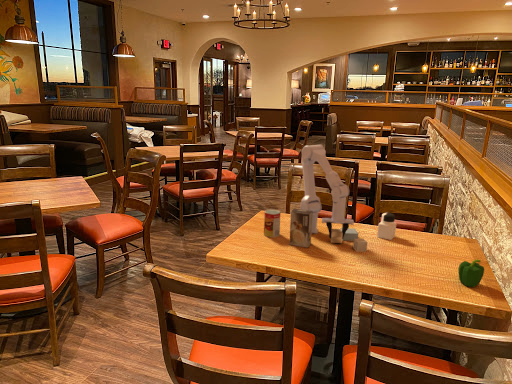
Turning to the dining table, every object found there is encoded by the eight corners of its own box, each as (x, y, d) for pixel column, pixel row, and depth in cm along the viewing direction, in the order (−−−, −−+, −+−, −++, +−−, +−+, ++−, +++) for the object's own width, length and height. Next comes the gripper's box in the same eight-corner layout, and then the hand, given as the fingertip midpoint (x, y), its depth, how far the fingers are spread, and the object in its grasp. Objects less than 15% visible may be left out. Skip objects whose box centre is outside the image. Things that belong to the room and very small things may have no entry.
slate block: (343, 240, 180) (343, 233, 179) (340, 235, 187) (340, 228, 186) (357, 241, 180) (358, 233, 179) (354, 236, 187) (354, 228, 186)
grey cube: (357, 251, 167) (358, 242, 166) (352, 247, 171) (353, 238, 170) (366, 251, 168) (367, 242, 167) (362, 247, 172) (363, 238, 171)
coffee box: (311, 243, 175) (313, 210, 171) (308, 248, 170) (310, 214, 166) (292, 240, 179) (294, 208, 175) (288, 244, 173) (290, 211, 169)
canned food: (269, 230, 190) (270, 208, 187) (282, 234, 186) (283, 211, 183) (260, 234, 184) (261, 211, 181) (273, 238, 180) (274, 215, 177)
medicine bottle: (394, 236, 188) (397, 213, 185) (391, 240, 182) (394, 217, 179) (380, 233, 191) (383, 210, 188) (376, 237, 185) (379, 214, 182)
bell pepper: (457, 286, 138) (462, 262, 135) (455, 277, 145) (459, 253, 143) (483, 291, 135) (488, 266, 133) (479, 281, 143) (484, 257, 140)
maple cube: (331, 242, 175) (331, 232, 174) (330, 238, 180) (330, 228, 179) (341, 243, 175) (342, 233, 173) (340, 239, 179) (341, 229, 178)
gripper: (323, 212, 170) (321, 239, 174) (355, 214, 169) (352, 242, 172) (322, 207, 177) (320, 234, 180) (353, 209, 176) (350, 236, 179)
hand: (336, 237), depth 177 cm, fingers closed on maple cube, 5 cm apart
